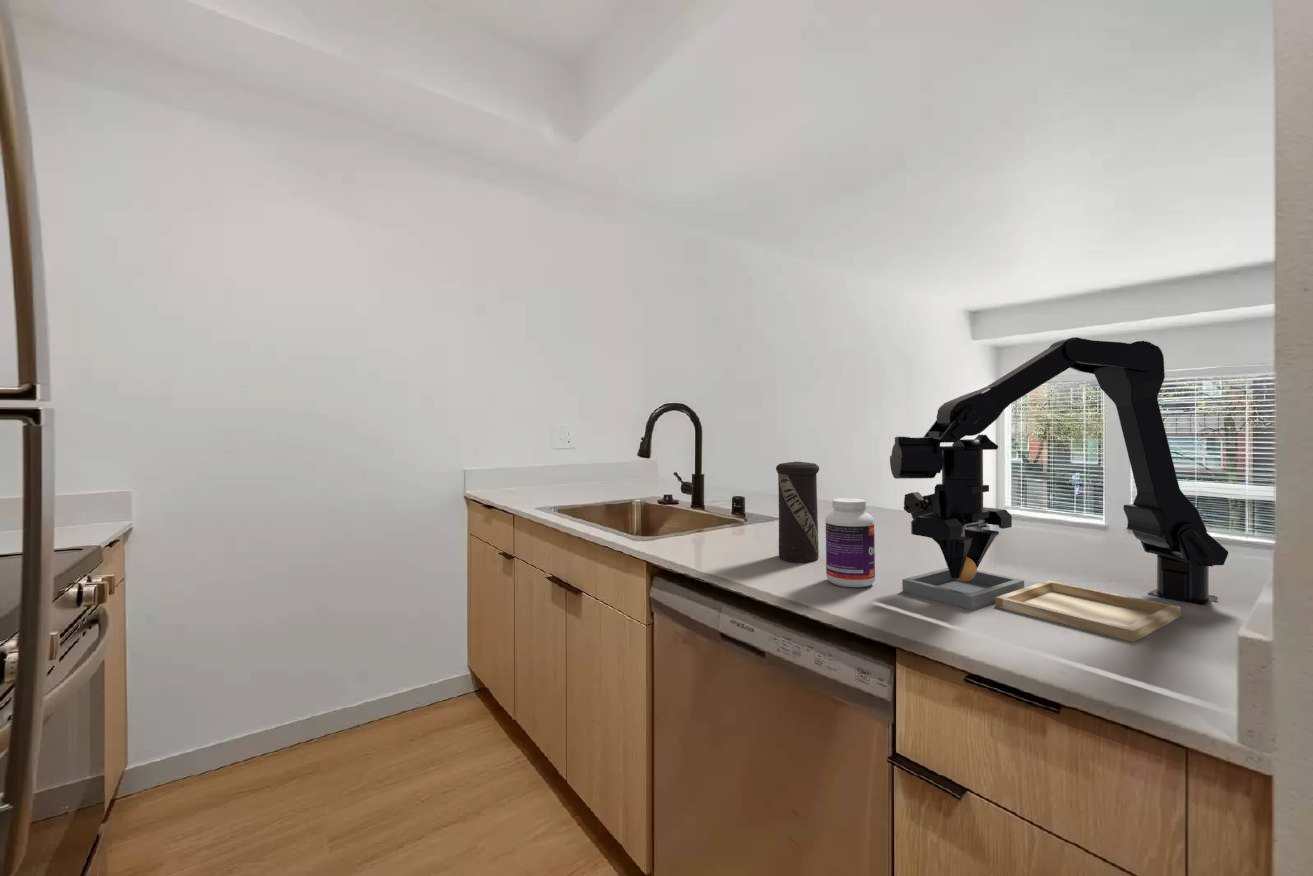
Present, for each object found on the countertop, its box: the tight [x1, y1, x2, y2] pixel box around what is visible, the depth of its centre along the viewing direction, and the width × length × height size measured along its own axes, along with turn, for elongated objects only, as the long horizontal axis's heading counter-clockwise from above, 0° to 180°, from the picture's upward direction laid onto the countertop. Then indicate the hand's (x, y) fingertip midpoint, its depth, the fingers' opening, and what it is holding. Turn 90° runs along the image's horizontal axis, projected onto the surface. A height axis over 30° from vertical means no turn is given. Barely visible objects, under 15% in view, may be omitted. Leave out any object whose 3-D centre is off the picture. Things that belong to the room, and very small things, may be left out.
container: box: [775, 461, 820, 563], centre depth 113 cm, size 9×9×20 cm
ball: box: [948, 557, 978, 581], centre depth 87 cm, size 4×4×4 cm
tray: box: [901, 567, 1025, 611], centre depth 87 cm, size 15×11×2 cm
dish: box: [994, 579, 1182, 643], centre depth 77 cm, size 16×16×2 cm
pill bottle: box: [825, 497, 876, 588], centre depth 95 cm, size 8×8×14 cm
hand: (962, 576), depth 87 cm, fingers closed on ball, 4 cm apart
